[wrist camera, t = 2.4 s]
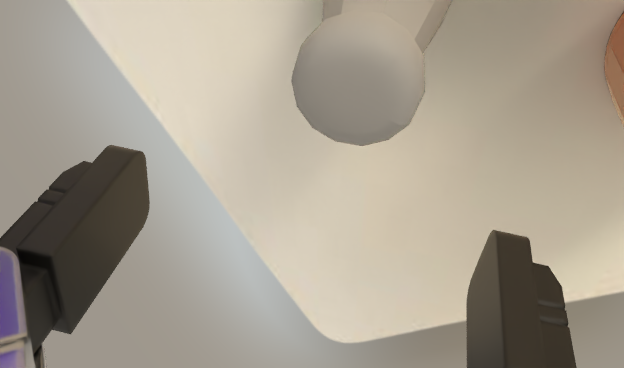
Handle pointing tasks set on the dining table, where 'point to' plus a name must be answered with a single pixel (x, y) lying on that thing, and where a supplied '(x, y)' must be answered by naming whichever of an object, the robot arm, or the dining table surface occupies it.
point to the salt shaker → (365, 67)
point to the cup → (616, 66)
